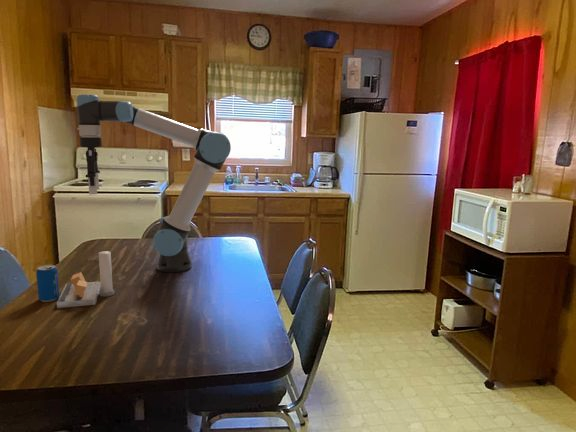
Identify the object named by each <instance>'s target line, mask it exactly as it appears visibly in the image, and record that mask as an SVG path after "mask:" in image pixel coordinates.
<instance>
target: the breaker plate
mask: <svg viewBox="0 0 576 432" xmlns="http://www.w3.org/2000/svg"><path fill="white" fill-rule="evenodd" d="M87 282H88V283H87V286H86V289H85V292H84V294H83V297H79V298H76V296H73V295H74V292H75V287H74V285H73V283H65V285H64V287H63V289H62V291H61V293H60V294H59V297H58V298H57V300H56V308H57V309H60V308H62V309H63V308H73V307H74V308H75V307H82V306H83V307H84V306H94V305H97V302H98V301H97V300H98V297H99V292H100V291H101V284H100V281H91V282H89V281H87Z"/></svg>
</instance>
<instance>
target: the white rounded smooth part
mask: <svg viewBox="0 0 576 432" xmlns="http://www.w3.org/2000/svg"><path fill="white" fill-rule="evenodd" d="M111 255H112V254H111V251H109V250H105V251H100V252H98V265H99V267H98V268H99V280H100V285H101V287H100V290H99V294H98V296H100V297H101V298H106V297H112V296H114V295H115V291H116V290H114V289H113V287H114V286H113V273H112V272H113V270H112V256H111Z"/></svg>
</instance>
